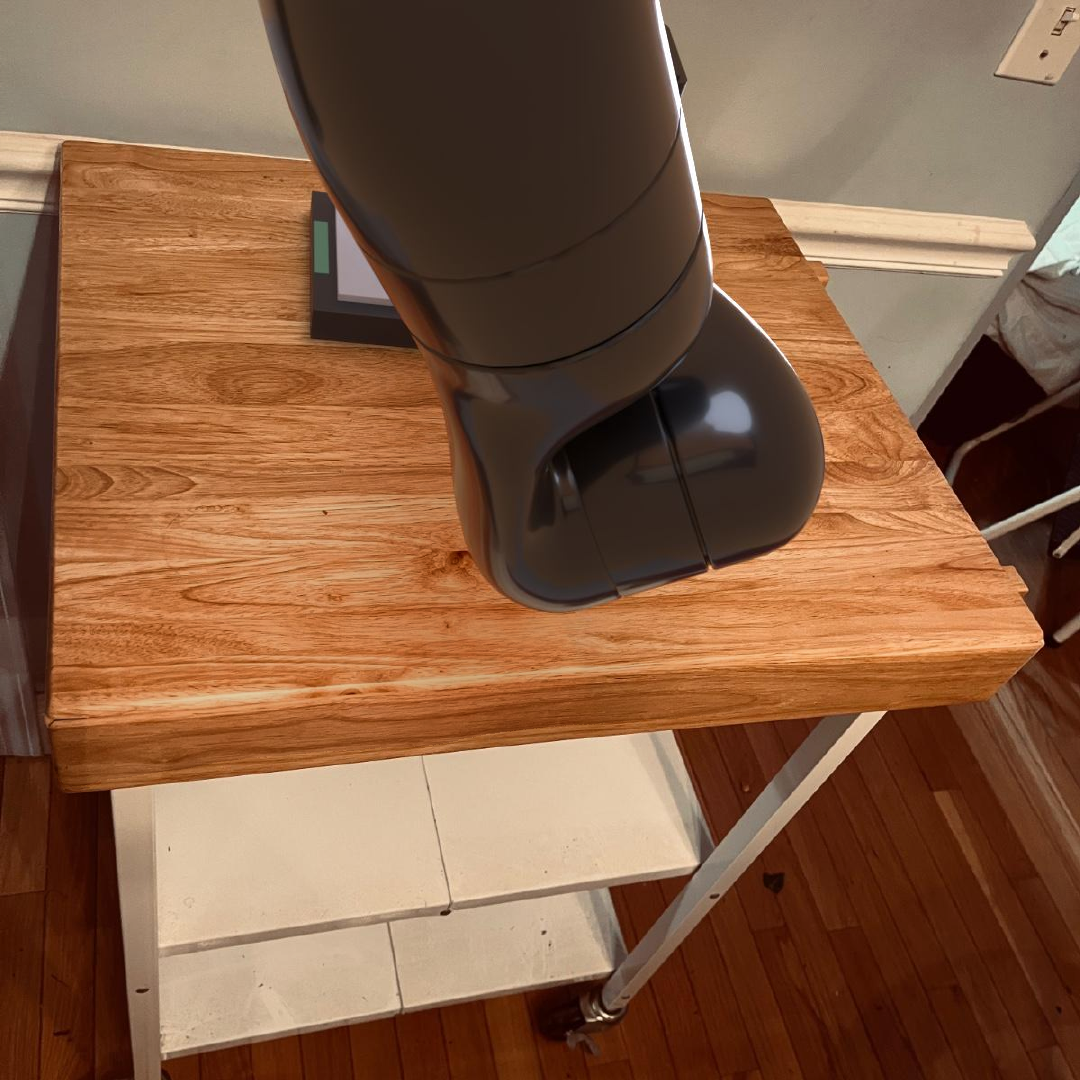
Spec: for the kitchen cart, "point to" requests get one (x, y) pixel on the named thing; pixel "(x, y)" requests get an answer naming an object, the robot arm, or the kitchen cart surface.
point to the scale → (347, 286)
